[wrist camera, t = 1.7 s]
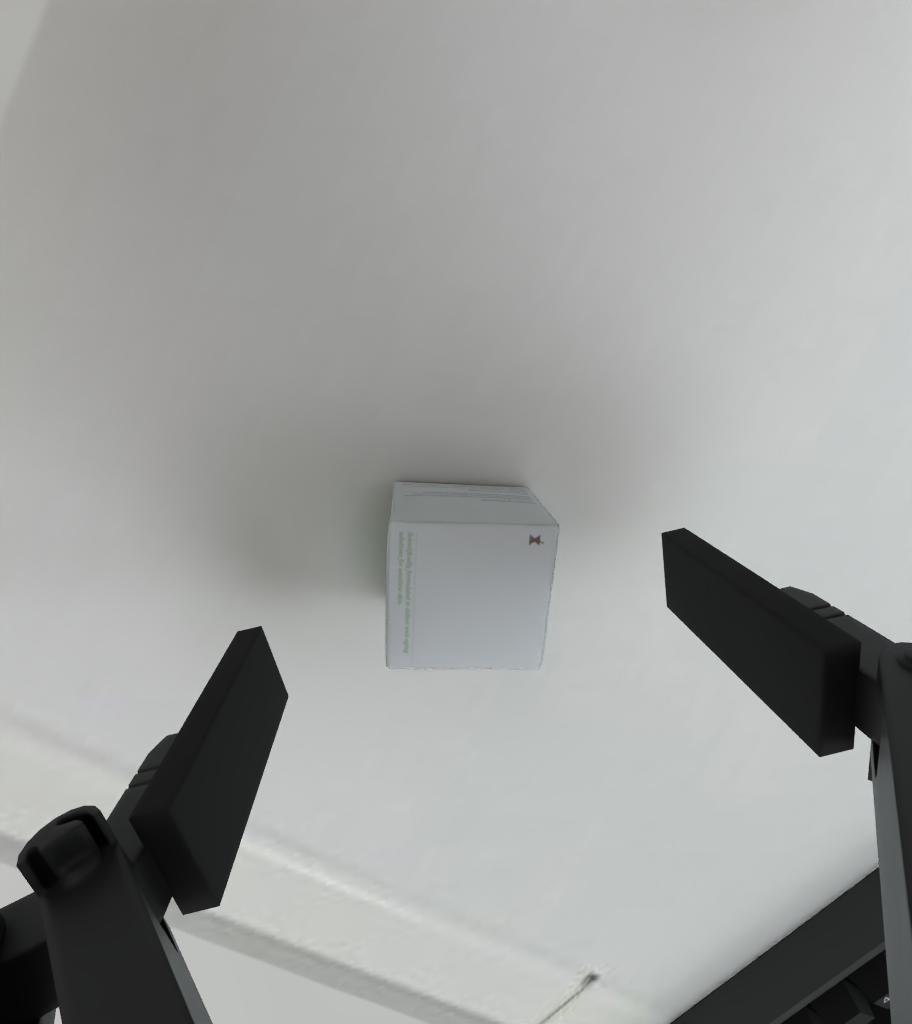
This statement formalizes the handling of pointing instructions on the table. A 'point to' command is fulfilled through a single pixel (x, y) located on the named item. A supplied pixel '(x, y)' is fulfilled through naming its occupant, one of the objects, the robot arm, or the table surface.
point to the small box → (468, 577)
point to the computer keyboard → (813, 971)
